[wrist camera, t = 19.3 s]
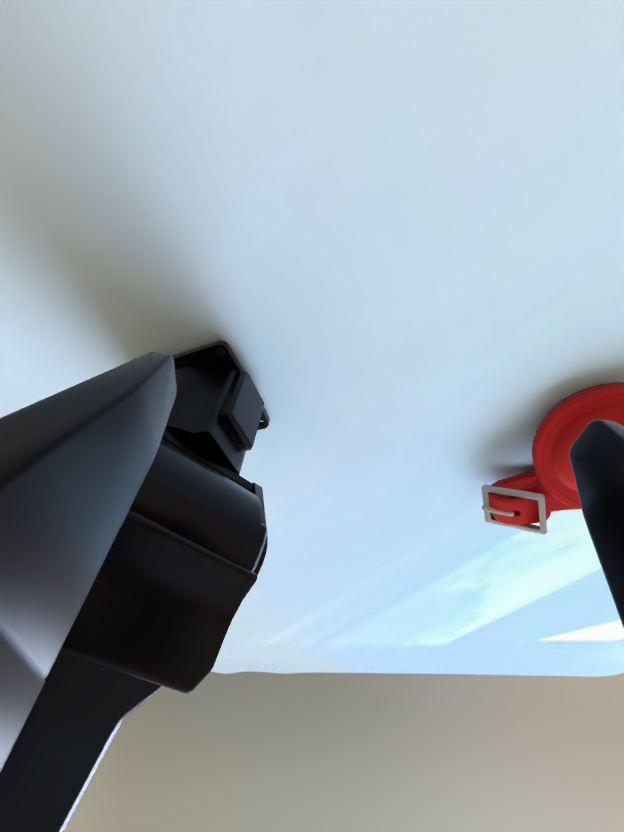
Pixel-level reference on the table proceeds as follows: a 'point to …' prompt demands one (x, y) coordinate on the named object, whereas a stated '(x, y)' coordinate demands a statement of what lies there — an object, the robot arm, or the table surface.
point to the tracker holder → (551, 462)
